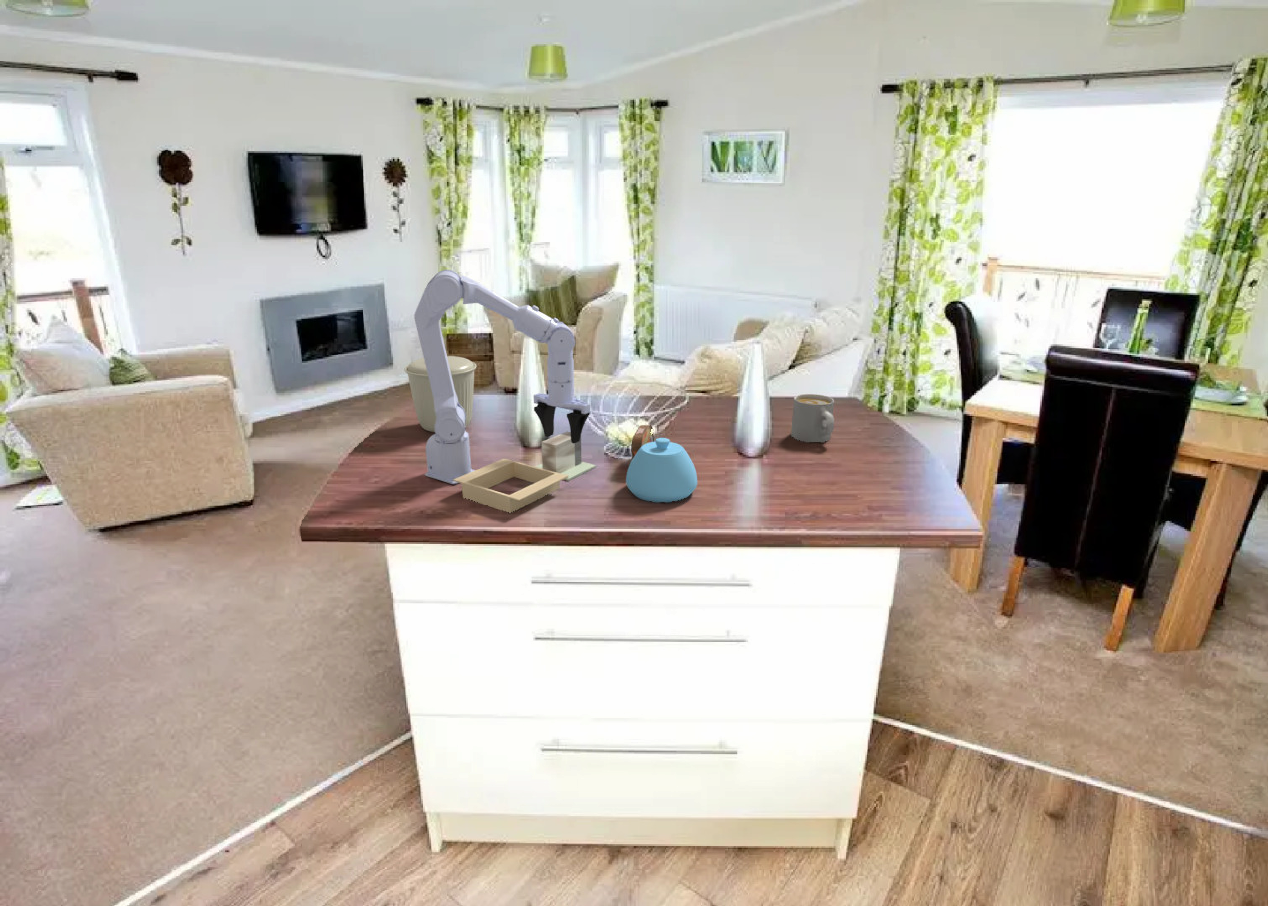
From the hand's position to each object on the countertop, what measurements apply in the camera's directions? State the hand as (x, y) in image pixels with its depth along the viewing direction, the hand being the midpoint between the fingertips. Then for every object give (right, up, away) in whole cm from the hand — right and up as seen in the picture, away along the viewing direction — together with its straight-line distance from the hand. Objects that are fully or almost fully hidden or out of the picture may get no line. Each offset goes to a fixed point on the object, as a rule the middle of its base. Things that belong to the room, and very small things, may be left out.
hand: (562, 438), depth 164 cm
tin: (+18, -6, +6) cm, 20 cm away
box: (0, -6, +2) cm, 7 cm away
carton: (-9, -12, -11) cm, 18 cm away
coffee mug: (+62, 0, +24) cm, 66 cm away
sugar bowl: (+22, -11, -9) cm, 26 cm away
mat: (0, -7, +2) cm, 7 cm away
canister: (-34, +4, +31) cm, 46 cm away
